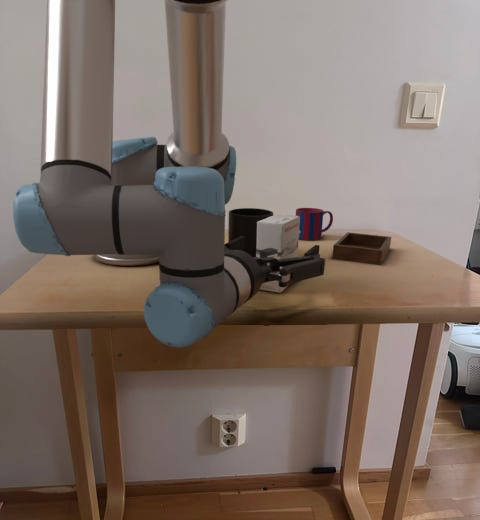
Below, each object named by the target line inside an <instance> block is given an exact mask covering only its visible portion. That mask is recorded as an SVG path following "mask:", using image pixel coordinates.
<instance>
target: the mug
mask: <svg viewBox="0 0 480 520" xmlns="http://www.w3.org/2000/svg"><path fill="white" fill-rule="evenodd" d="M273 215H274V211H272V210H269V209H265V208H255V207H254V208H253V207H243V208H242V207H240V208H233V209H230V210H229V211H228V226H227V227H228V232H227V233H228V234H227V235H228V236H227V243H228V242H230V241H232V240H234V239H236V238H238V237H240V236H244V237H245V248H244V252H246V253H248V254H249V255H251V256H252V257H256V250H257V222H258V221H261V220H263V219H266V218H268V217H271V216H273Z"/></svg>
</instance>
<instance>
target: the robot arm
mask: <svg viewBox="0 0 480 520" xmlns="http://www.w3.org/2000/svg"><path fill="white" fill-rule="evenodd" d="M227 2H228V0H164V11H165V13H164V14H165V25H166V26H165V27H166V38H167V39H166V40H167V55H168V70H169V80H170V81H169V82H170V99H171V111H172V113H171V114H172V126H173V127H172V128H173V131H172V133H170V135H169V136H168V138H167V140H166V144H158V143H159V142H158V140H157V138H156V137H155V136H146V137H136V138H128V139H120V140H113V138H114V136H113V135H114V95H115V94H114V92H115V90H114V88H115V87H114V86H115V41H116V39H115V36H116V34H115V33H116V30H115V29H116V0H46V23H45V45H44V47H45V48H44V68H43V69H44V70H43V72H44V73H43V95H42V97H43V98H42V118H41V119H42V121H41V143H40V144H41V145H40V146H41V147H40V166H39V167H40V176H39V181H38V182H32V184H23V185H21V186H20V187H18V188H17V190H16V193H15V198H14V199H13V204H12V217H13V219H12V220H13V226H14V229H15V233H16V236H17V239H18V240H19V242H20V244H21V245H22V246H23V247H24V248H25V249H26V250H27V251H29V252H31V253H32V254H39V255H40V254H41V255H53V256H55V255H56V256H65V257H71V256H94V255H95V256H94V257H95V260H97V261H98V262H100V263H103V264H106V265H110V266H121V267H134V266H135V267H136V266H138V267H139V266H146V265H153V264H157V263H158V266H159V267H158V271H159V285H158V286H156V287H155V288H154V289H153V290H152V291H151V292H150V293H149V294H148V296H147V297H146V299H145V301H144V306H143V317H144V322H145V324H146V326H147V328H148V330H149V332H150V333H151V334H152V335H153V337H154V338H155V339H157V340H158V341H159V342H161V343H162V344H163V345H166V346H168V347H172V348H177V349H178V348H179V349H181V348H186V347H190V346H191V345H193V344H195V343H196V342H198V341H200V340H201V339H204V338H206V337H207V336H209V335H210V334H211V333H212V331H213V330H214V329H215V328H216V327H218V326H219V325H220V324H221V323H222V322H224V321H225V320H226V319H227V318H228V317H231V315H232V314H233V313H235V312H236V311H237V310H239V308H240V307H242V306H243V305H244V304H246V303H247V302H249V301H250V300H251V299H252V298H254V297H255V296H256V295H257V294H258V292H259V291H260V290H261V289H260V287H261V285H262V284H263V283H267V282H270V281H275V280H276V281H279V287H286V288H288V287H289V286H290V285H291V284H295V283H299V282H302V281H307V280H310V279H313V278H318V277H321V276H324V275H325V267H326V258H324V257H321V254H320V247H321V246H320V244H315V245H312V246H311V248H309V249H308V250H307V251H305V252H304V253H303V255H302V256H297V257H294V258H285V259H275V258H273V257H266V258H258V257H252V256H251V255H249V254H248V253H246V252H244V248H245V237H244V236H240V237H238V238H236V239H234V240H232V241H230V242H228V241H227V242H226V241H225V237H226V205H228V203H229V202H230V200H231V198H232V196H233V192H234V187H235V180H236V173H237V171H236V170H237V151H236V149H235V147H234V146H232V145H230V142H229V140H228V138H227V136H226V135H225V134H224V133H223V130H222V128H223V103H224V102H223V99H224V73H225V72H224V69H225V42H226V41H225V39H226V10H227V9H226V8H227V7H226V6H227ZM225 242H226V243H225ZM266 263H269V266H268V265H267V264H266ZM288 285H289V286H288ZM287 286H288V287H287Z"/></svg>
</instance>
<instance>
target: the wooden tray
mask: <svg viewBox="0 0 480 520" xmlns="http://www.w3.org/2000/svg"><path fill="white" fill-rule="evenodd" d="M391 242H392V236H387V235H378V234H369V233H368V234H367V233H360V232H359V233H358V232H349V231H348V232H346V233H345V234H344V235H343V236H342V237H340V238H339V239H338V240H337V241H336V242H335V243H334V244H333V246H332V247H333V248H332V256H331V257H332V258H331V259H332V260H340V261H347V262H355V263H361V264H362V263H364V264H370V265H380V266H381V265H382V263H383V261H384V260H385V258H386V256H387V255H388V253H389V251H390V250H391Z"/></svg>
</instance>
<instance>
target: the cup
mask: <svg viewBox="0 0 480 520" xmlns="http://www.w3.org/2000/svg"><path fill="white" fill-rule="evenodd" d="M326 214H328V215H329V222H328V223H327V226H326V227H325V228H323V222H324V215H326ZM295 216H299V217H300V225H299V240H302V241H319V240H321V239H322V233H325V232H327V231H328V230H330V228H331V227H332V225H333V221H334V216H333V213H332V212H331V211H329V210H323V209H321V208H316V207H299V208H296V209H295Z"/></svg>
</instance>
